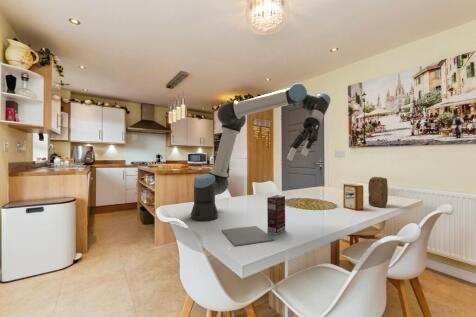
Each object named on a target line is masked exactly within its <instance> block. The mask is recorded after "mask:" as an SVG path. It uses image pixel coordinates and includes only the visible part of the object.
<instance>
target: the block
mask: <svg viewBox="0 0 476 317" xmlns="http://www.w3.org/2000/svg"><path fill="white" fill-rule="evenodd" d="M367 186H368V187H367V189H368V204H369V205H370V206H373V207H376V208H386V206H387V204H388V196H389V195H388V194H389V193H388V192H389V191H388V190H389V187H388V179H387V177H382V176H372V177H370V179H369V180H368V185H367Z"/></svg>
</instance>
